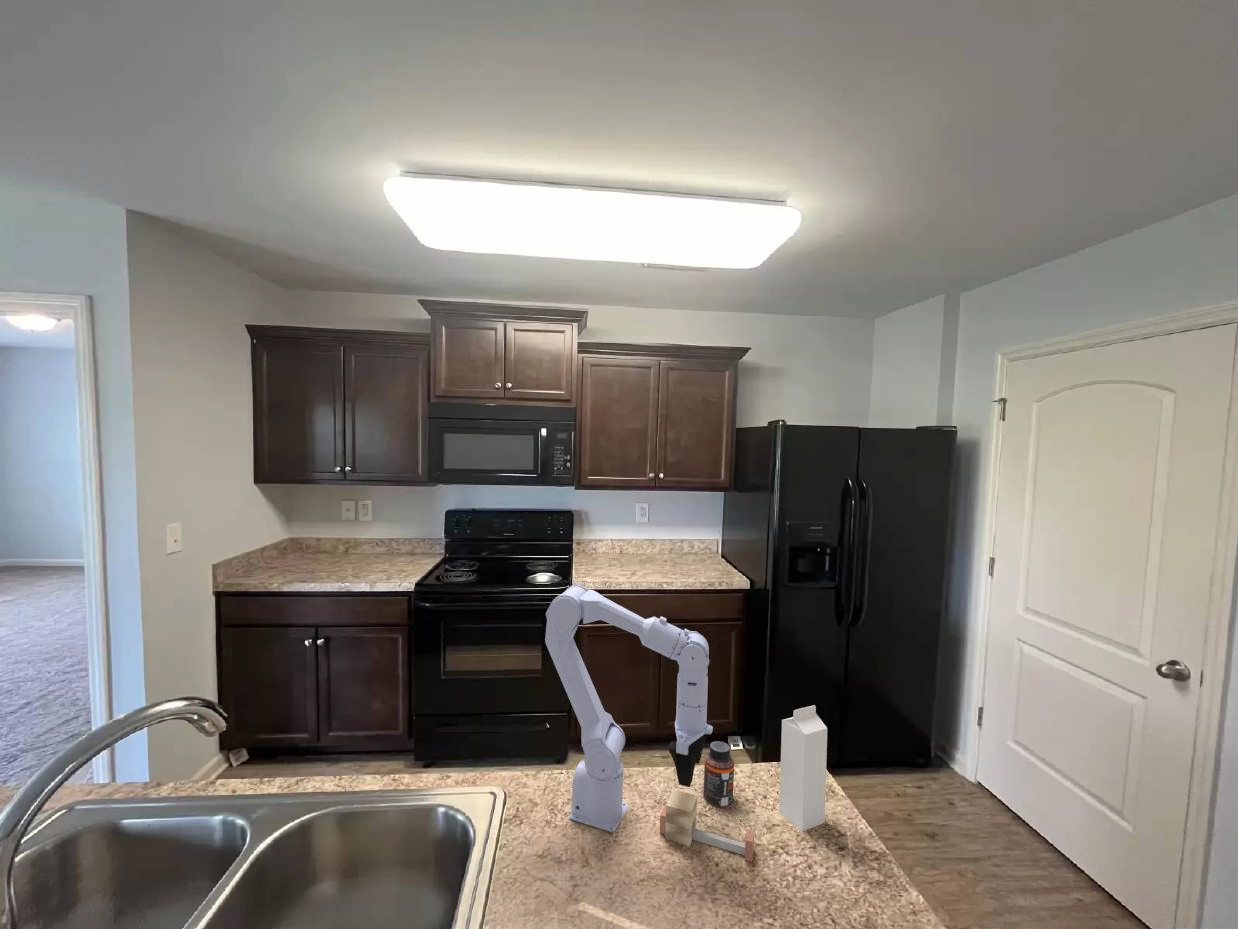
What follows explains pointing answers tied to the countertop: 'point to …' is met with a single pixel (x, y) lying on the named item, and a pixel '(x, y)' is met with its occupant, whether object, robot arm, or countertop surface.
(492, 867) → the countertop surface
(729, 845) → the rail board
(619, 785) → the robot arm
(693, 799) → the slider block
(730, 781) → the supplement bottle
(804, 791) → the milk
